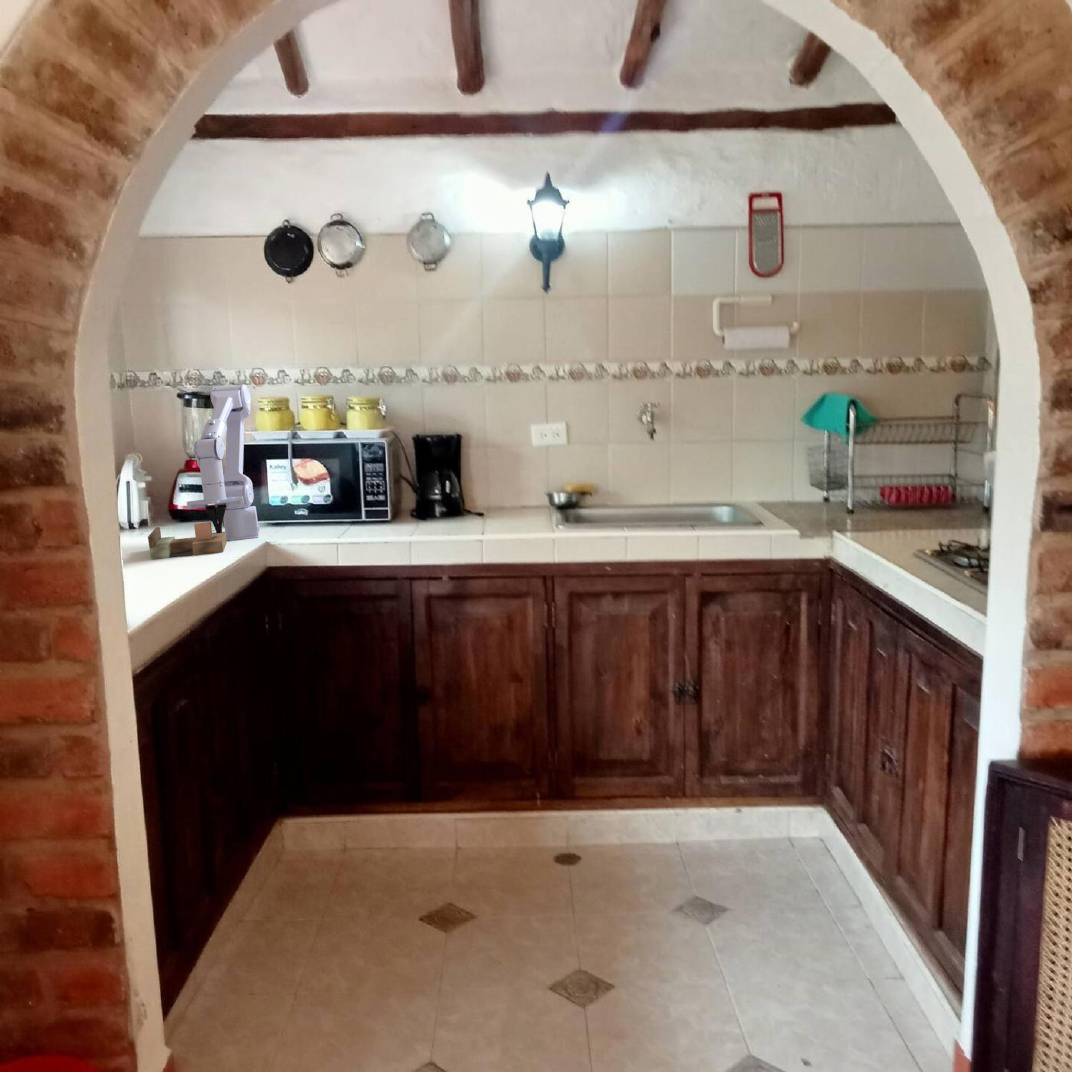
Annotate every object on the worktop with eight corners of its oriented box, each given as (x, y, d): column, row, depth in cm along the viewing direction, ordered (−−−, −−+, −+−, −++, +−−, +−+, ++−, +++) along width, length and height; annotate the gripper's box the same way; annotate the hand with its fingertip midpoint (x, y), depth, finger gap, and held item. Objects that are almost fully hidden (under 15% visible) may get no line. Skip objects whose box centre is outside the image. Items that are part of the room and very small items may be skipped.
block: (212, 536, 258) (210, 521, 257) (211, 538, 254) (209, 523, 253) (197, 537, 257) (195, 523, 256) (196, 539, 253) (194, 525, 252)
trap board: (226, 541, 264) (224, 520, 263) (223, 552, 249) (220, 529, 248) (158, 548, 260) (155, 527, 259) (150, 559, 245) (147, 536, 244)
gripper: (183, 487, 248) (189, 537, 250) (240, 482, 251) (246, 532, 254) (185, 484, 255) (192, 533, 257) (241, 479, 258) (247, 528, 261)
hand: (219, 532), depth 256 cm, fingers closed
